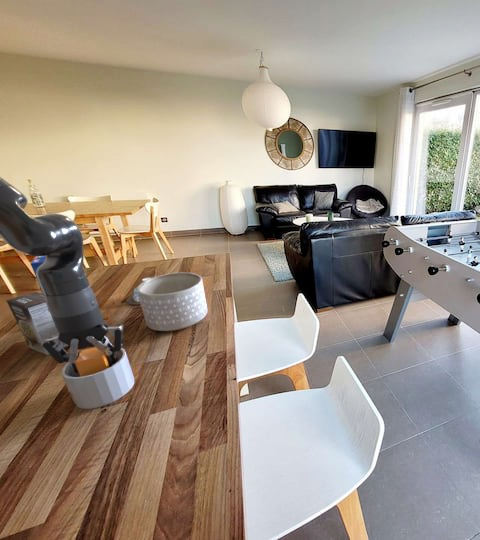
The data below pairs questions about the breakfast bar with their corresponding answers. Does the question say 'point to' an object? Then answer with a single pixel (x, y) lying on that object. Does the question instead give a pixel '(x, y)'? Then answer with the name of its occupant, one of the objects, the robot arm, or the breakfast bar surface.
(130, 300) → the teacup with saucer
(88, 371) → the juice carton
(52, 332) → the coffee box
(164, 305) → the planter
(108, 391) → the ceramic bowl
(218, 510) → the breakfast bar surface
